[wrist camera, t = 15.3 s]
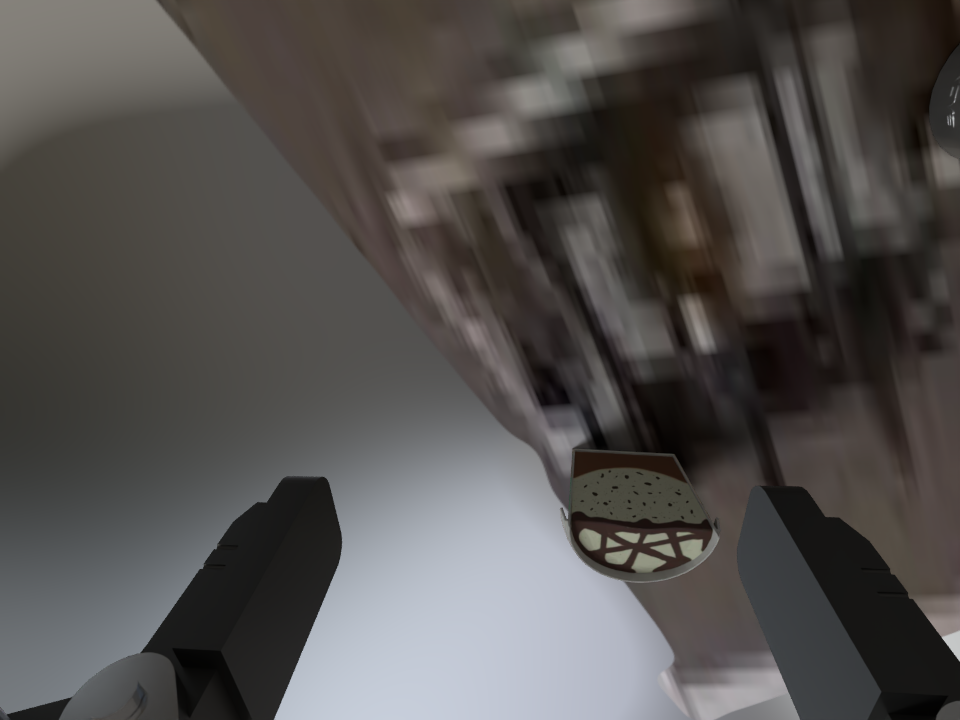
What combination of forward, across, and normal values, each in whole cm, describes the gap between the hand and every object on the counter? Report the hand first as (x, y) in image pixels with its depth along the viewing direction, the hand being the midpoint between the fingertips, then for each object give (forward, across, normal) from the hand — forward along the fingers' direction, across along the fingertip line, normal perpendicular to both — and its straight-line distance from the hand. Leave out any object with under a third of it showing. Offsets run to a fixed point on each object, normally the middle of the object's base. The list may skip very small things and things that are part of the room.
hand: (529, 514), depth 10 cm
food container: (+32, -8, +26) cm, 42 cm away
